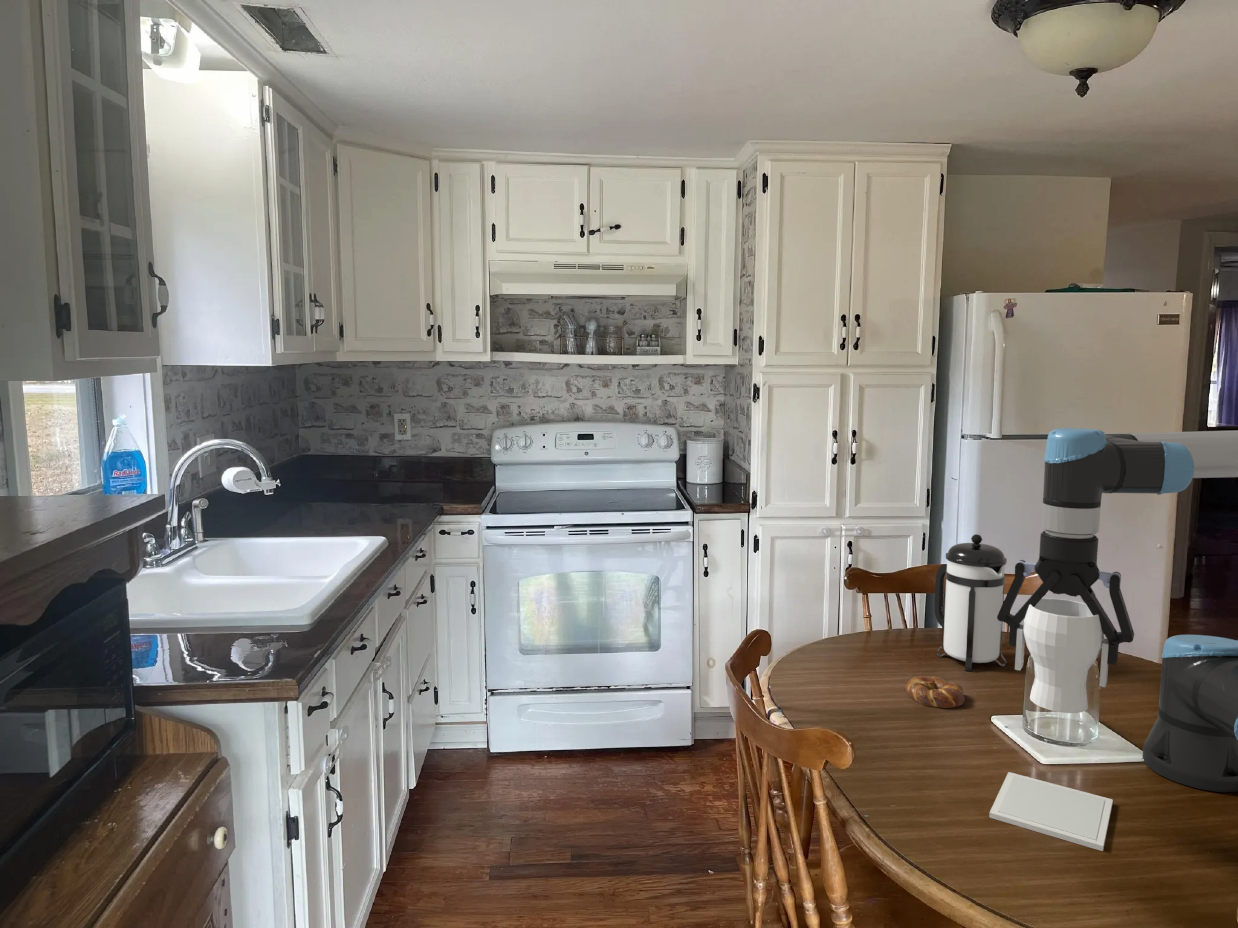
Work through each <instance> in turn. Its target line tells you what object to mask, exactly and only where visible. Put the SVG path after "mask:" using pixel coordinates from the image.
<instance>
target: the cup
mask: <svg viewBox="0 0 1238 928" xmlns="http://www.w3.org/2000/svg"><path fill="white" fill-rule="evenodd" d="M1023 625H1024V628H1023V633H1024V637H1025V644H1026V647H1027V649H1028V651H1029V654H1030V655H1031V659H1032V660H1033V669H1034V670H1033V671H1034V679H1033V682H1032V687H1031V690H1030V696H1029V699H1030V701H1031V702H1033V704H1034V705H1036V706H1039V707H1040V708H1044V709H1046V710H1049V711H1052V712H1057V713H1063V714H1064V713H1065V714H1078V713H1083V712H1085V711H1087V710H1088V696H1087V688H1086V682H1087V678H1088V675H1089V674H1088V672H1089V669H1090V668H1091V666H1093V664H1094V662H1095V661H1096V660H1097V659H1098V657H1099V654H1100V653H1101V651H1102V643H1103V640H1104V638H1105V634H1104V633H1103V631H1102V629H1101V624H1100V619H1099V615H1094V616H1093V615H1092V613H1091V611H1090V610H1089V608H1088V606H1087V605H1086V603H1085V602H1081V601H1076V600H1070V599H1065V598H1051V597H1050V598H1045V597H1044V598H1042V599H1041V600H1040V601H1039V602H1038V603H1037V604H1036V605H1035V607H1033V606H1032V605H1031V604H1030V605H1029V607H1028V610H1027V613H1026V616H1025V618H1024V619H1023Z"/></svg>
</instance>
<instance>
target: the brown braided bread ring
mask: <svg viewBox="0 0 1238 928" xmlns="http://www.w3.org/2000/svg"><path fill="white" fill-rule="evenodd" d="M905 690H906V693H907V695H908V697H909V698H910V700H912V701H915V702H917V703H919V704H920V705H922V706H926V707H932V708H933V707H934V708H939V709H950V708H957V707H960V706H962V705H963V704H964V703H965V700H966V699H965V696H964V688H963V686H962V685H960V684H959V683H958V682H955V681H948V682H947V681H946V679H943V678H942V677H939V676H935V675H932V676H927V675H919V676H914V677H912V678H911V679H909V680H908V682H907V683H906V685H905Z"/></svg>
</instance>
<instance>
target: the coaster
mask: <svg viewBox="0 0 1238 928" xmlns="http://www.w3.org/2000/svg"><path fill="white" fill-rule="evenodd" d="M1112 807H1113V799H1112V798H1107V797H1104V796H1100V795H1097V794H1093V793H1090V792H1086V791H1082V790H1077V789H1074V788H1070V787H1067V786H1063V785H1061V784H1060V785H1059V784H1056V783H1052V782H1048V781H1046V780H1045V781H1044V780H1040V779H1037V778H1033V777H1030V776H1025V775H1021V774H1018V773H1014V772H1010V771H1008V772H1007V774H1006V776H1005V779H1004V781H1003V782H1002V785H1001V788H1000V789H999V791H998V794H997V796H996V798H995V800H994V802H993V805H992V807H991V808H990V811H989V814H988V815H989V817H988V818H990V819H993V820H997V821H1000V822H1003V823H1007V824H1010V825H1014V826H1017V827H1020V828H1024V829H1027V830H1030V831H1033V832H1037V833H1040V834H1043V835H1047V836H1050V837H1053V838H1057V839H1061V840H1063V841H1066V842H1069V843H1070V842H1071V843H1074V844H1076V845H1077V844H1078V845H1080V846H1084V847H1086V848H1090V849H1094V850H1098V851H1101V852H1104V847H1105V843H1106V838H1107V832H1108V828H1109V823H1110V818H1111V813H1112Z"/></svg>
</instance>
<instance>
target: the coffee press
mask: <svg viewBox="0 0 1238 928" xmlns="http://www.w3.org/2000/svg"><path fill="white" fill-rule="evenodd" d="M970 539H971V542H963V543H961V542H960V543H957V544H954V545H953V546H951V547H950V548H949V549H948V551H947V552H946V553H945V560H946V563H945V564H941V565H940V566H939V567H938V569H937V571H936V573H935V575H936V576H935V582H934V583H935V585H934V604H933V605H934V607H933V608H934V617H935V619H936V620H937V623H938V624H939V625H940V627H941V628H942V641H941V642H942V644H941V646H940V647H939V648H938V649H937V650H936V656H937V657H938V658H943V657H944V656H945V655H948V656H950V657H952V658H953V659H956V660H959V661H963V662H965V664H964V665H965V666H964V670H965V671H966V672H972V670H973V663H976V664H981V663H982V664H983V663H984V664H985V663H990V662H991V663H992V662H995V663H997V665H998V666H1000V667H1006V665H1007V660H1006V658H1005V657H1004V655H1003V653H1002V646H1001V644H1002V643H1003V642H1002V640H1003V627H1002V625H1003V623H1004V622H1003V621H999V620H998V619H997V615H998V613H999V611H1000V609H1001V607H1002V604H1003V602H1004V600H1005V590H1004V587H1005V582H1006V580H1005V579H1006V575H1005V566H1006V565H1007V562H1008V559H1007V558H1006V557H1005V554H1004V553H1003V551H1002V550H1001V549H1000V548H999V547H997V546H993V545H991V544H985V543H982V541H983V538H982V536H981V535H980V534H977V533H976V534H973V535H972V536H971V538H970ZM944 581H945V582H944ZM942 648H943V650H944V653H942V654H939V653H938V652H939V651H941V649H942ZM999 656H1000V657H1001V659H1002V660H1003V662H1004V663H1001V662H1000V661H999V660H997V659H998V658H999Z"/></svg>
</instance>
